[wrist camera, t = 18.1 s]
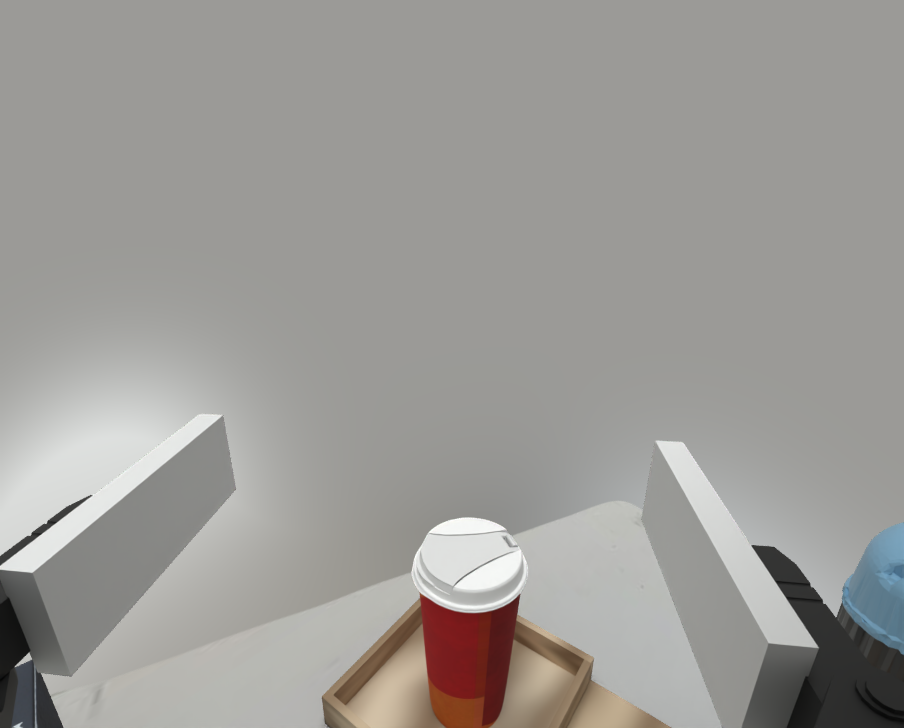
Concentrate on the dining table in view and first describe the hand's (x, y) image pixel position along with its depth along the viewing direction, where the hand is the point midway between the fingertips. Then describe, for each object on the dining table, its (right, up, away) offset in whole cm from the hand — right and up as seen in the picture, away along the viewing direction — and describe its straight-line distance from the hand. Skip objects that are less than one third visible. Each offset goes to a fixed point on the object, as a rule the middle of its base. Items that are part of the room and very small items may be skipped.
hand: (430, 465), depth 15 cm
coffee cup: (+2, -24, +25) cm, 35 cm away
